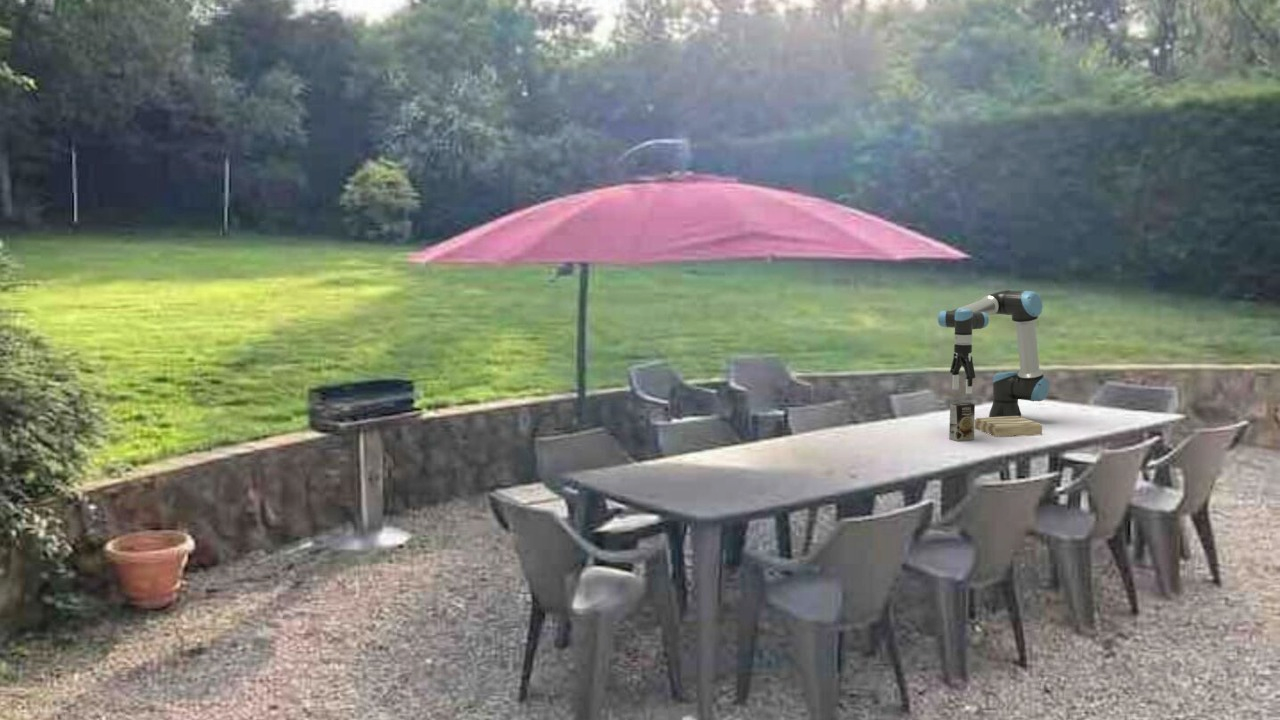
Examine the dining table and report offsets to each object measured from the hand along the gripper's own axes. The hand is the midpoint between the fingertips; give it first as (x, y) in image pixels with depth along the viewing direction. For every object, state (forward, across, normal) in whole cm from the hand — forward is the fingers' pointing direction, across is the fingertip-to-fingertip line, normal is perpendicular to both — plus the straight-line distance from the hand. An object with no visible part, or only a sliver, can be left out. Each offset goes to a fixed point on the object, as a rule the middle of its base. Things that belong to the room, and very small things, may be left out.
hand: (962, 391), depth 492 cm
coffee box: (+22, 0, 0) cm, 22 cm away
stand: (+21, -12, +28) cm, 38 cm away
